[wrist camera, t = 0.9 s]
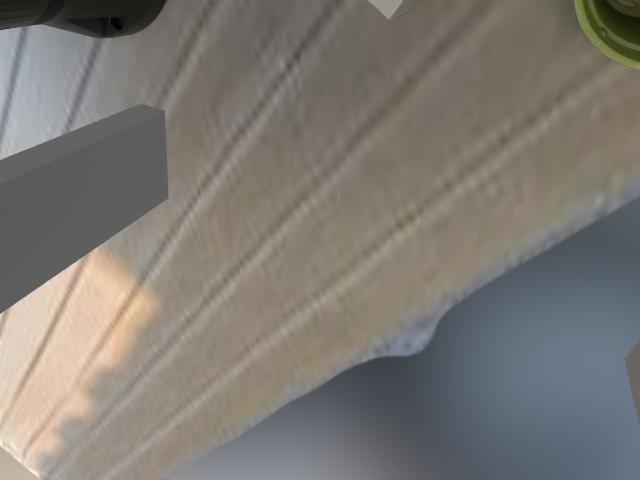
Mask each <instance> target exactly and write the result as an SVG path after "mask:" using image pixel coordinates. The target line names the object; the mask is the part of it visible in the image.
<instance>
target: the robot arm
mask: <svg viewBox="0 0 640 480" xmlns="http://www.w3.org/2000/svg"><path fill="white" fill-rule="evenodd" d="M164 2H165V0H0V30H3V29H10V28H17V27H23V26H31V25H39V24H43V25H47V26H51V27H55V28H59V29H62V30H66V31H70V32H74V33H78V34H82V35H86V36H90V37H95V38H114V37H119V36H125V35H130V34H134V33H137V32H139V31H141V30H142V29H144V28H145V27H147V26H148V25H149V24H150V23H151V22H152V21H153V20H154V19H155V18H156V16H157V15H158V14H159V12H160V10H161V9H162V7H163V5H164ZM166 199H168V174H167V150H166V126H165V111H163V110H160V109H157V108H154V107H150V106H147V105H144V104H139V105H137V106H134V107H132V108H129V109H127V110H124V111H122V112H119V113H117V114H114V115H112V116H109V117H107V118H104V119H102V120H99V121H97V122H94V123H92V124H89V125H87V126H84V127H82V128H79V129H77V130H74V131H72V132H69V133H67V134H64V135H62V136H59V137H57V138H54V139H52V140H49V141H47V142H44V143H42V144H39V145H37V146H34V147H32V148H29V149H27V150H24V151H22V152H19V153H17V154H14V155H12V156H9V157H7V158H4V159H2V160H0V314H1V313H2V312H4V311H5V310H6V309H8V308H9V307H11V306H12V305H14V304H15V303H17V302H18V301H19V300H21V299H22V298H24V297H25V296H27V295H28V294H30V293H31V292H33V291H34V290H35V289H37V288H38V287H40V286H41V285H43V284H44V283H46V282H47V281H49V280H50V279H51V278H53V277H54V276H56V275H57V274H59V273H60V272H62V271H63V270H65V269H66V268H67V267H69V266H70V265H72V264H73V263H75V262H76V261H78V260H79V259H81V258H82V257H83V256H85V255H86V254H88V253H89V252H91V251H92V250H94V249H95V248H97V247H98V246H99V245H101V244H102V243H104V242H105V241H107V240H108V239H110V238H111V237H112V236H114V235H115V234H117V233H118V232H120V231H121V230H123V229H124V228H126V227H127V226H128V225H130V224H131V223H133V222H134V221H136V220H137V219H139V218H140V217H142V216H143V215H144V214H146V213H147V212H149V211H150V210H152V209H153V208H155V207H156V206H158V205H159V204H160V203H162V202H163V201H165V200H166ZM625 363H626V367H627V372H628V376H629V381H630V386H631V390H632V395H633V399H634V404H635V408H636V413H637V417H638V422H639V426H640V340H639V341H638V342H637V344H636V345H635V346H634V348H633V349H632V350H631V352H630V353H629V354H628V355H627V357H626V358H625Z"/></svg>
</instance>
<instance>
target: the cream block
mask: <svg viewBox="0 0 640 480" xmlns="http://www.w3.org/2000/svg"><path fill="white" fill-rule="evenodd" d="M368 1H369V2H370V3H371V4H372V5H373V6H375V7H376V8H377V9H378V10H379V11H380V12H381V13H382V14H383V15H385V16H386V17H387V18H388V19H389V20H390V19H392V18H395V17H398V16H400V15H403V14H405V13H408V12H409V10H410V9H411V7H412V6H413V5H414V3H415V2H416V1H417V0H368Z"/></svg>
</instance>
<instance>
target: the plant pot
mask: <svg viewBox="0 0 640 480" xmlns="http://www.w3.org/2000/svg"><path fill="white" fill-rule="evenodd" d="M630 1H631V2H634V4H638V7H634V8H631V7H626V6H624V5H622V4H621V3H619V2H618V1H617V0H574V7H575V11H576V15H577V18H578V21H579V24H580V26H581V28H582V29H583V31H584V33H585V34H586V36H587V37H588V39H589V40H590V41H591V42H592V43H593V45H594V46H595V47H597V48H598V49H599V50H600V51H601V52H602V53H603V54H604V55H606V56H607V57H609V58H610V59H612V60H614V61H616V62H618V63H620V64H622V65H624V66H627V67H630V68H633V69H637V70H640V0H630Z"/></svg>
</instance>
